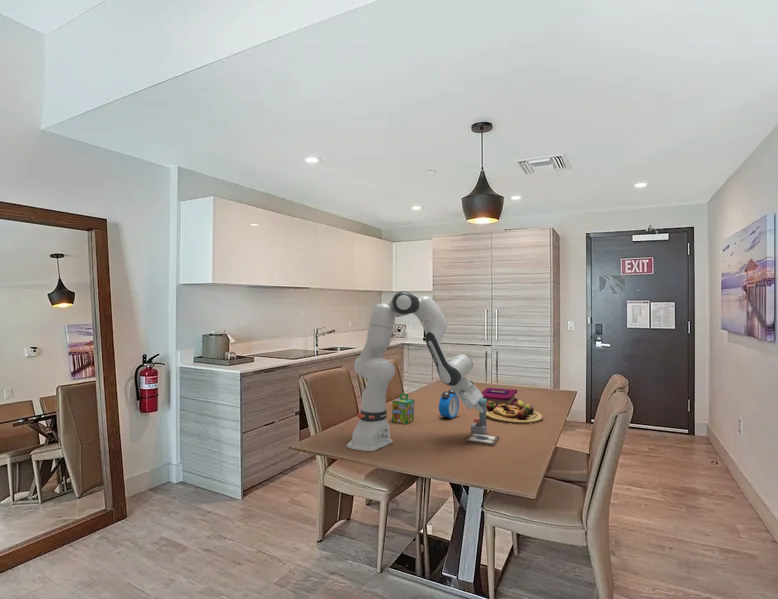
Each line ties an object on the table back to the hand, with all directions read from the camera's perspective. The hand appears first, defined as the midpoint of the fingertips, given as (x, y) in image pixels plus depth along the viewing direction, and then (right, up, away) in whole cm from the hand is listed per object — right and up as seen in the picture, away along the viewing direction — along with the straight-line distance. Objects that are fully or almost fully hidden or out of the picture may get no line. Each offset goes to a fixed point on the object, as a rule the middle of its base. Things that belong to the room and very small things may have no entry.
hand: (484, 410), depth 216 cm
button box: (0, -14, +11) cm, 18 cm away
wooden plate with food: (+25, -15, +45) cm, 53 cm away
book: (+25, -14, +80) cm, 85 cm away
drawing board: (-1, -14, 0) cm, 14 cm away
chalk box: (-37, -14, +33) cm, 51 cm away
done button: (0, -10, +11) cm, 15 cm away
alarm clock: (-11, -14, +42) cm, 45 cm away
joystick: (0, -7, 0) cm, 7 cm away
